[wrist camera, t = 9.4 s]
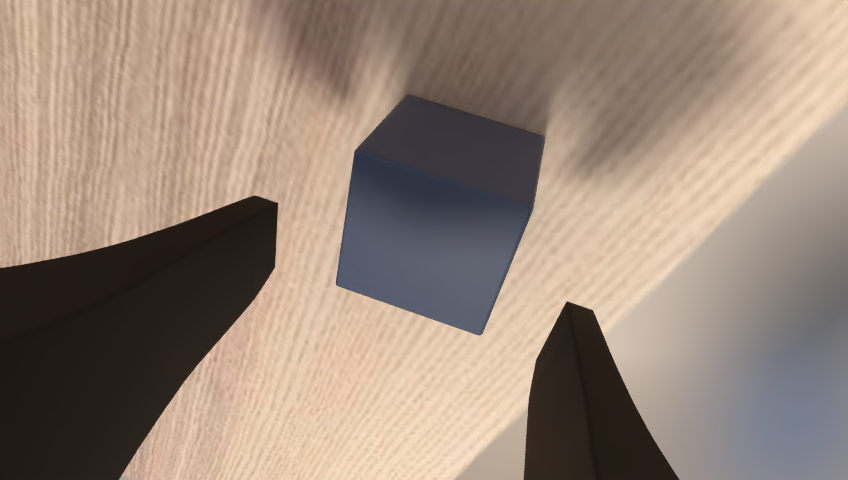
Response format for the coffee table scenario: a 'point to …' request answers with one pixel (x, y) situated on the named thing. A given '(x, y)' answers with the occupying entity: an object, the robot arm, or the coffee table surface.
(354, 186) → the slate block
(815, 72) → the coffee table surface
